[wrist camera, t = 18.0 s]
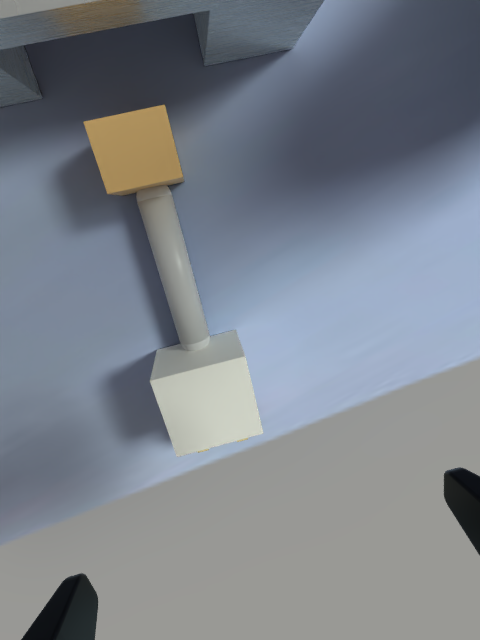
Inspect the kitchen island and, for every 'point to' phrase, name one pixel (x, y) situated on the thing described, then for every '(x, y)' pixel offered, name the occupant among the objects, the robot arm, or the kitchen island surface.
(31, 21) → the white bridge block
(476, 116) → the kitchen island surface
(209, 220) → the kitchen island surface
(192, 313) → the dumbbell shaped bar
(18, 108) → the kitchen island surface
